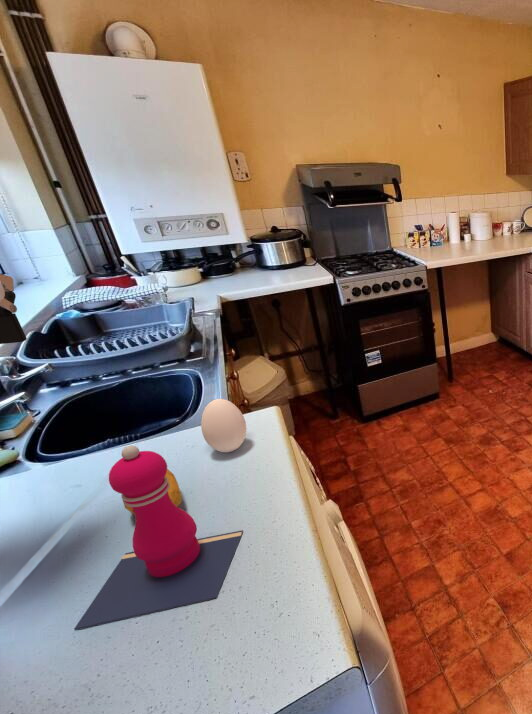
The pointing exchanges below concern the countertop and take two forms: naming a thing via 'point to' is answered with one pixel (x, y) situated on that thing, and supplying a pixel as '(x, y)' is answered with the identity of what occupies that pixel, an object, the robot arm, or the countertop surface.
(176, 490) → the potato
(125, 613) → the napkin
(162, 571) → the pepper mill
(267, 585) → the countertop surface
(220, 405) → the egg
